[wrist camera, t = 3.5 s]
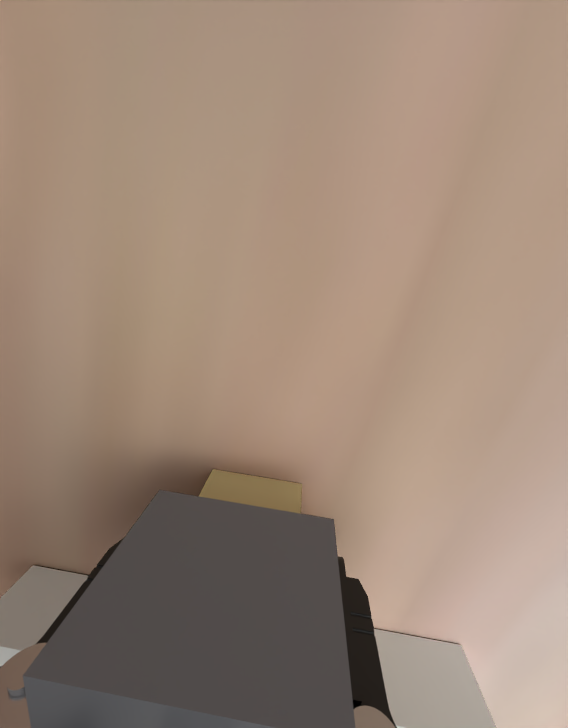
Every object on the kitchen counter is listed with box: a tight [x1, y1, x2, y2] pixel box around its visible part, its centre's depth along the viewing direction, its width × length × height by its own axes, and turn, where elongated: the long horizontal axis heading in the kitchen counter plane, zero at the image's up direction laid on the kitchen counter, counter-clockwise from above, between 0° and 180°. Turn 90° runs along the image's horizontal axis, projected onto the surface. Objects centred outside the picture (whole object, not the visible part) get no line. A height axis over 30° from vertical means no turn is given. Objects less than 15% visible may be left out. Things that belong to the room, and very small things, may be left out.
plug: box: [23, 469, 355, 728], centre depth 8 cm, size 5×5×8 cm
